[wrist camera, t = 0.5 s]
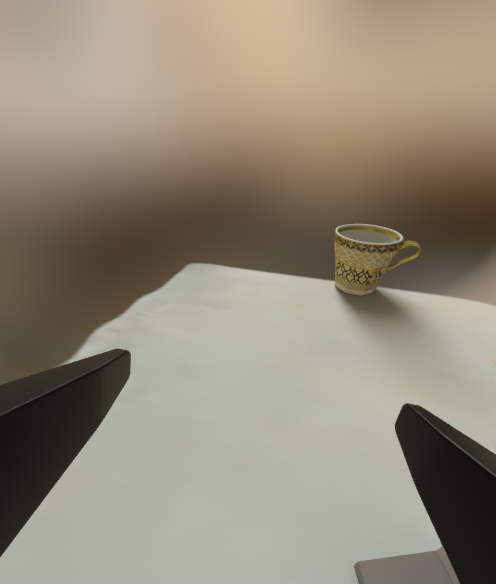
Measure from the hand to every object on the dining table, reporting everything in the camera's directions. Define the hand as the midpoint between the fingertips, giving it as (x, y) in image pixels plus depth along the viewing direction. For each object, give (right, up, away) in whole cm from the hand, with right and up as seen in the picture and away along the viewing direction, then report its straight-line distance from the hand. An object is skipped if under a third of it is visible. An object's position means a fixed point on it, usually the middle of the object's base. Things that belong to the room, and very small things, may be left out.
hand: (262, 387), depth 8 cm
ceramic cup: (+20, +4, +35) cm, 41 cm away
